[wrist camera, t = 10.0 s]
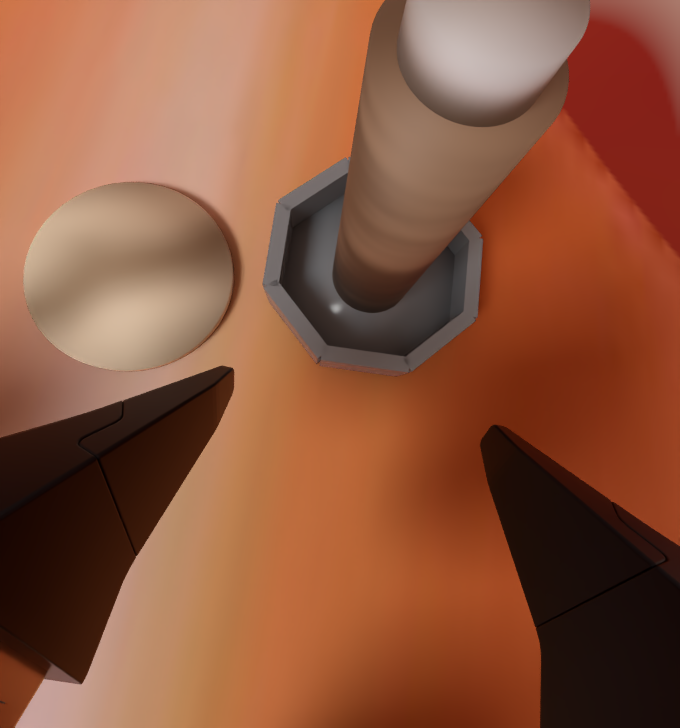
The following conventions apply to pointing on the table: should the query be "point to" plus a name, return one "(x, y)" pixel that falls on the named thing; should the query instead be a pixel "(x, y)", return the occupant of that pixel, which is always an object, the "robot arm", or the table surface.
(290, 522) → the table surface
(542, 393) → the table surface
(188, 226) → the cork mat
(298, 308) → the bowl
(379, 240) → the salt mill
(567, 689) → the robot arm
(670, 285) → the table surface
